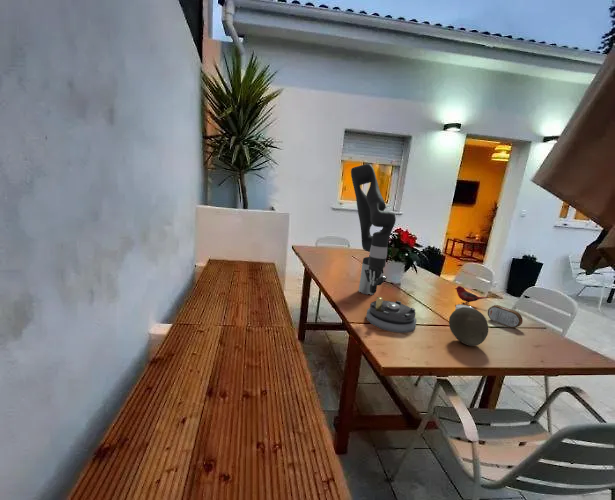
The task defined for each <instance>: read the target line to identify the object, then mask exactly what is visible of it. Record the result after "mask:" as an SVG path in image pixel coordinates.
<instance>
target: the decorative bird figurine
mask: <svg viewBox="0 0 615 500" xmlns="http://www.w3.org/2000/svg"><path fill="white" fill-rule="evenodd" d="M454 289H455V290H456V294H457V296H458V297H459V299H460V300H462V301H463V302H461V301H460V303H461V304H462V305H470V303H471V302H476V301H478V300H482V299H483V300H484V299H489V297H487V296H478V295H476V294H474V293H473V292H470V291H467V290H466V289H465V288H464V287H463V286H461V285H459V286H458V285H457V287H456V288H454Z"/></svg>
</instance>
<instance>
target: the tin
mask: <svg viewBox="0 0 615 500" xmlns="http://www.w3.org/2000/svg"><path fill="white" fill-rule="evenodd" d="M487 316H488V318H489V319H490V320H491V321H493V322H494V323H497V324H499V325H502V326H505V327H507V328H510V329H516V328H519V327H520V326H521V325H522V324H523V322H524V321H523V320H524V319H523V317H522V315H521V314H520V312H518V311H516V310H513V309H511V308H508V307H505V306H502V305H498V304H495V305H492V306H490V307H489V308H488V310H487Z"/></svg>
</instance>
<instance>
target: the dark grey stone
mask: <svg viewBox="0 0 615 500" xmlns="http://www.w3.org/2000/svg"><path fill="white" fill-rule="evenodd" d="M455 309H456V308H455ZM455 309H454V310H453V312H452V313H451V314H450V315H449V318H448V325H449V330H450V331H451V333H452V335H453V336H454V337H455V338H456V339H457V340H458V341H460V342H461V343H462V344H464V345H467V346H470V347H475V346H478V345H481V344H482V343H483V342H484V341H485V340H486V339H487V337H488V334H489V323H488V320H487V318H486V317H485V315H484V314H483V313H482V312H481V311H479V310H478V309H475V308H474V309H473V307H472V308H466V307H462V308H459V309H456V310H455Z"/></svg>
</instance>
